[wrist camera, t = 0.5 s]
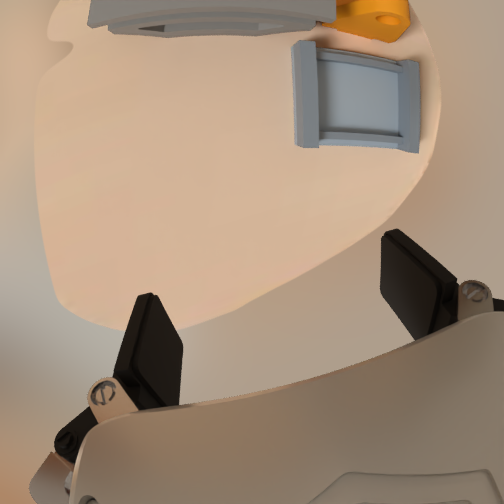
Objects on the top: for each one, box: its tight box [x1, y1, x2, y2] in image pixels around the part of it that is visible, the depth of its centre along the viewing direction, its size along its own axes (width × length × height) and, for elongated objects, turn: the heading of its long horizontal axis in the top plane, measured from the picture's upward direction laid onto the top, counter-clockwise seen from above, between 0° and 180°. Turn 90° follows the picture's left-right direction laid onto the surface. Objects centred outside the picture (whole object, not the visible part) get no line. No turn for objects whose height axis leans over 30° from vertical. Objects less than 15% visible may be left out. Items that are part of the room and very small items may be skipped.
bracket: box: [322, 0, 410, 43], centre depth 22 cm, size 11×7×12 cm
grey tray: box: [291, 40, 420, 153], centre depth 32 cm, size 14×18×4 cm
